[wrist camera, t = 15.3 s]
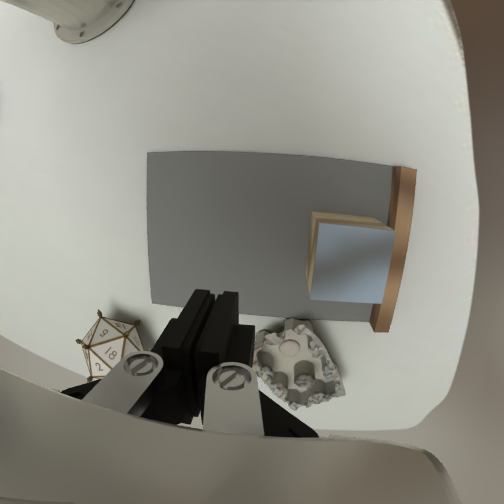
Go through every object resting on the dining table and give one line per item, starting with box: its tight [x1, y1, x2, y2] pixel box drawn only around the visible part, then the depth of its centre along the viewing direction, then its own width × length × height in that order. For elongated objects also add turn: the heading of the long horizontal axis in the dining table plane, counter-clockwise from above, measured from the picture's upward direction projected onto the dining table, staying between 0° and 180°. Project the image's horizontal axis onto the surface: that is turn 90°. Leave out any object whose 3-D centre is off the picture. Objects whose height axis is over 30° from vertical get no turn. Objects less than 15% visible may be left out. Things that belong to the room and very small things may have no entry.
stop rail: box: [369, 166, 417, 332], centre depth 26 cm, size 16×2×2 cm, turn 177°
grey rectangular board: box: [147, 151, 393, 322], centre depth 28 cm, size 16×24×1 cm
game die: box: [75, 309, 145, 382], centre depth 30 cm, size 9×8×10 cm
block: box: [305, 211, 396, 304], centre depth 25 cm, size 6×6×6 cm
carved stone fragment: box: [252, 318, 345, 410], centre depth 30 cm, size 11×8×4 cm
